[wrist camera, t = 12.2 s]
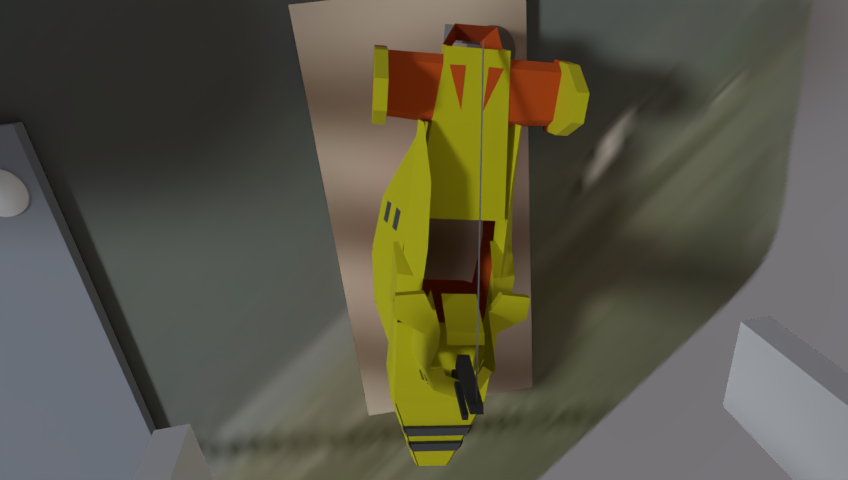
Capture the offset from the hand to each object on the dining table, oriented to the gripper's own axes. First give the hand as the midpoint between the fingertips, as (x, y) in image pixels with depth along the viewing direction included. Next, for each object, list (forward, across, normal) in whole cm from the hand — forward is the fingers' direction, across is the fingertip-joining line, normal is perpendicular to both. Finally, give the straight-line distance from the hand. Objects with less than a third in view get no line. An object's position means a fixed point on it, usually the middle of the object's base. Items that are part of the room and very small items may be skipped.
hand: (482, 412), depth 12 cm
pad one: (+13, -19, -4) cm, 23 cm away
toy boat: (+12, +1, -1) cm, 12 cm away
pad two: (+12, +1, -1) cm, 12 cm away
